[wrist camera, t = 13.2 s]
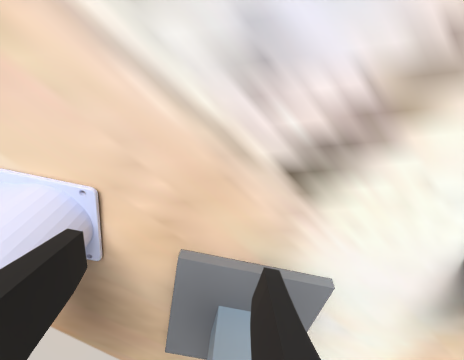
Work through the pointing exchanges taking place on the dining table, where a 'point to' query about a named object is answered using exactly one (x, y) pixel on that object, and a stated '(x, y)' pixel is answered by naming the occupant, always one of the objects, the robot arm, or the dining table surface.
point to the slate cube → (230, 335)
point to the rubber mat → (228, 297)
